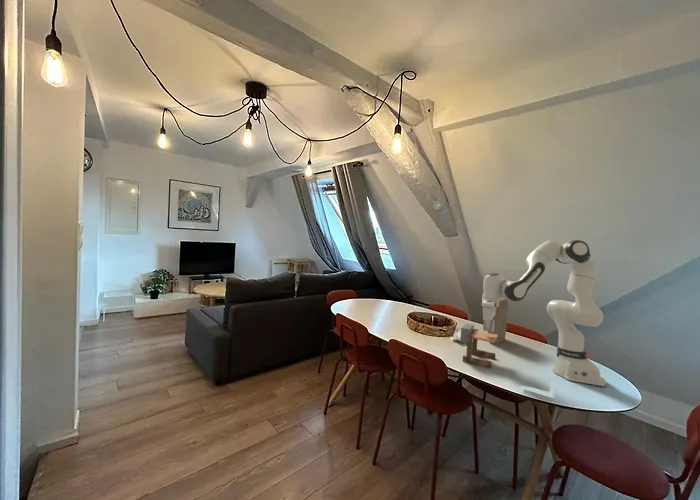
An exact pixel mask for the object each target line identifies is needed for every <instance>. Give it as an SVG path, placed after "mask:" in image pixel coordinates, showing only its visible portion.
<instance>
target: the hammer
mask: <svg viewBox="0 0 700 500" xmlns="http://www.w3.org/2000/svg"><path fill="white" fill-rule="evenodd" d="M474 327H475V325H474V324H471V323H465V324H464V325H462V326H461V328H460V329H461V340H460V341H459V342H460V343H463V342H464V343H463V344H467V339H468V335H471V336H473V339H478V340H479V341H483V342H488V343H490V342H493V343H495V341H496V339H497V337H498V335H495V334H490V333H488V332H486V331H485V332H484V331H479V330H478V331H474V332H473V330H474V329H475V328H474ZM478 340H477V341H478Z"/></svg>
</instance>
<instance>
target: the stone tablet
mask: <svg viewBox="0 0 700 500" xmlns="http://www.w3.org/2000/svg"><path fill="white" fill-rule="evenodd" d="M508 304H509V303H508V298H506V297H500V299H499V306H498V307H496V311H495V316H494V317H493V320H495V321H494V331H493V332H489V331H487V333H490V334H495V335H498V337H497V339H496V341H495V343H493V342H489V343H490V344H491V345H495V344H499V343H501V342H504V341H505V339H506V335H507V323H508V322H507V320H508V307H509V305H508Z"/></svg>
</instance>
